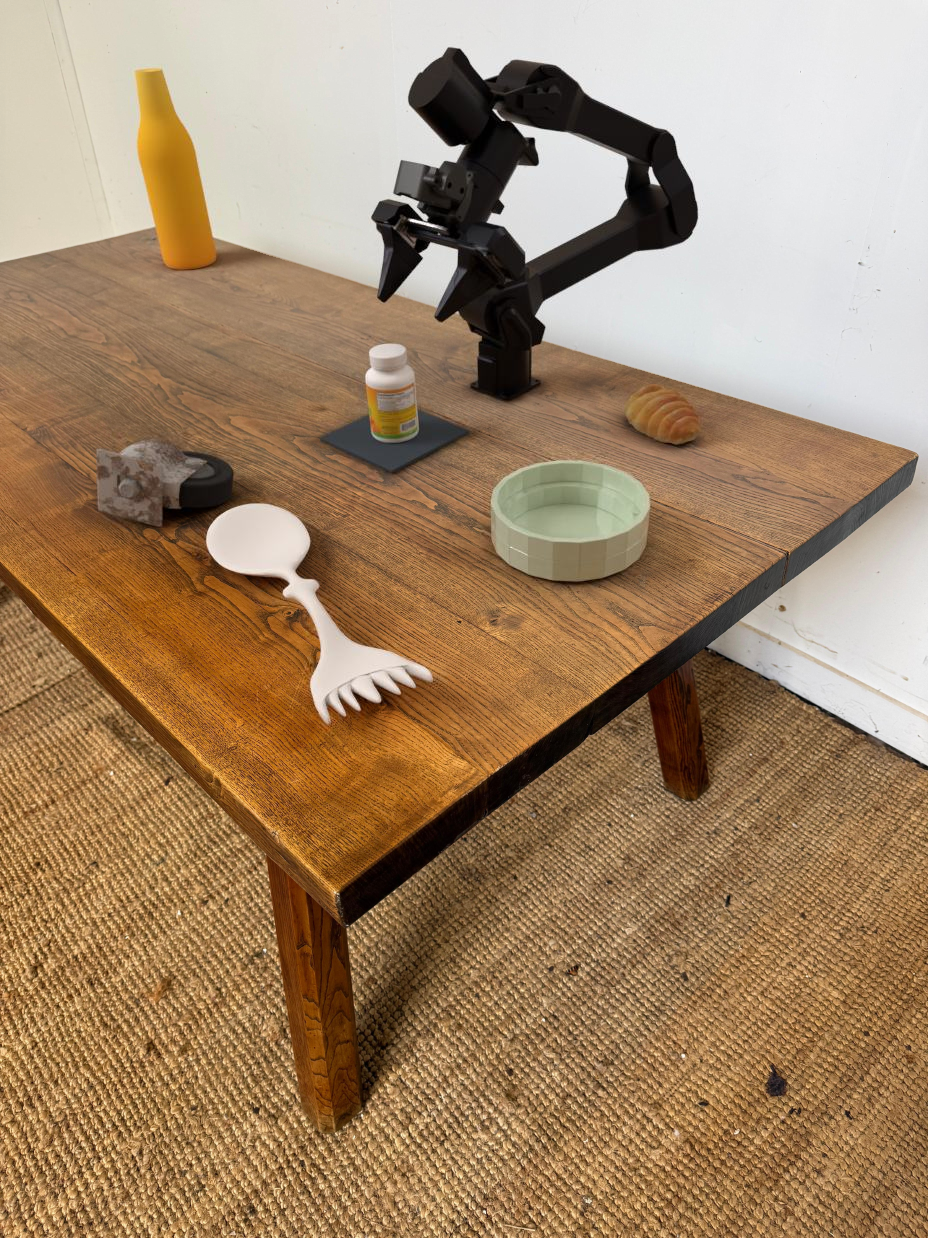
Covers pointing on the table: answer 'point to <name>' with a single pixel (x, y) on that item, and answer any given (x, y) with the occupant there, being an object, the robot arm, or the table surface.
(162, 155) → the beer bottle
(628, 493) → the bowl
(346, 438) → the mat
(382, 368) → the supplement bottle
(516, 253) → the robot arm
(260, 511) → the spoon
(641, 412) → the pastry
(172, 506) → the caster wheel
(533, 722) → the table surface
